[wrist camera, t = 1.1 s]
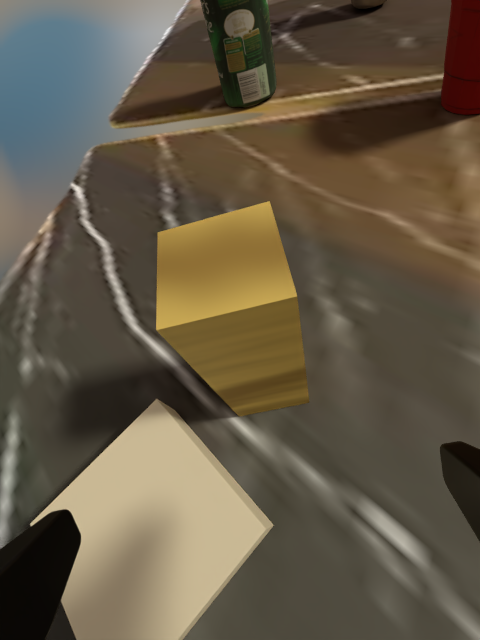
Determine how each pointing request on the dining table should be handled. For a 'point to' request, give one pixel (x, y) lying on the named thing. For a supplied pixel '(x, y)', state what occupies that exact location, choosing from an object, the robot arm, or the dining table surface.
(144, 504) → the plinth
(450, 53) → the plastic cup
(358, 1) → the plastic bottle
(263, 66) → the coffee jar
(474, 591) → the dining table surface
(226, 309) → the pillar block
